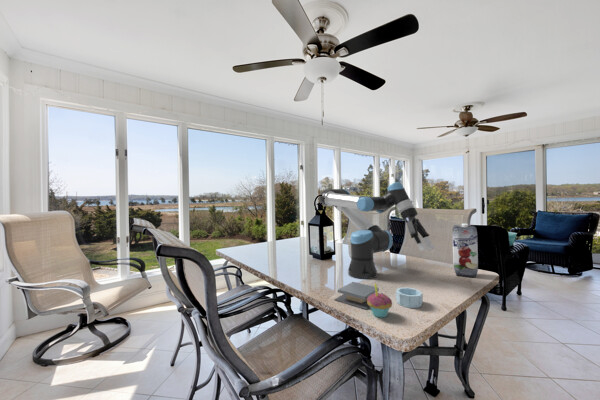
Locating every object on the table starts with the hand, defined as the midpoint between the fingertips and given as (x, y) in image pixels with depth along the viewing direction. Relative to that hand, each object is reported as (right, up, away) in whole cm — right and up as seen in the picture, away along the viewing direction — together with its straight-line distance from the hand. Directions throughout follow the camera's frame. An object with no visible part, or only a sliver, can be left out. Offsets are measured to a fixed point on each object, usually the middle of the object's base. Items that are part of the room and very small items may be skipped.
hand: (427, 249), depth 118 cm
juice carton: (+26, -16, +13) cm, 33 cm away
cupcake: (-32, -17, -29) cm, 47 cm away
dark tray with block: (-36, -17, -16) cm, 43 cm away
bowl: (-18, -17, -21) cm, 32 cm away
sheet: (-36, -14, -16) cm, 42 cm away
